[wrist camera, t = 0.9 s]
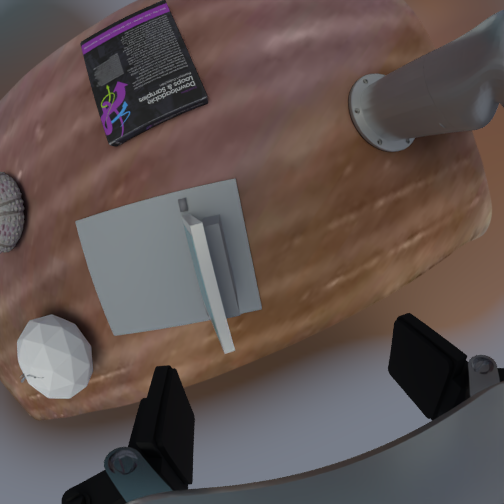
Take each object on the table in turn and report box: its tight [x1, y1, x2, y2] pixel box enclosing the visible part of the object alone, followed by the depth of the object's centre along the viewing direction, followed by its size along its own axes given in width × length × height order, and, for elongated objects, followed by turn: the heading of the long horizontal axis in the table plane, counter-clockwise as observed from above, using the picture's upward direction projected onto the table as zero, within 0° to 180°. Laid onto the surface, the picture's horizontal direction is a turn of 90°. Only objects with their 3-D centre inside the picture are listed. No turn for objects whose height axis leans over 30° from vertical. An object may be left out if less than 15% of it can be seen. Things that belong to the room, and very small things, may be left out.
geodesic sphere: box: [17, 314, 93, 399], centre depth 31 cm, size 14×14×14 cm
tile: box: [181, 213, 235, 354], centre depth 29 cm, size 13×12×1 cm
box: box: [80, 0, 208, 147], centre depth 28 cm, size 14×4×20 cm
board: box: [75, 179, 262, 336], centre depth 32 cm, size 23×18×9 cm
